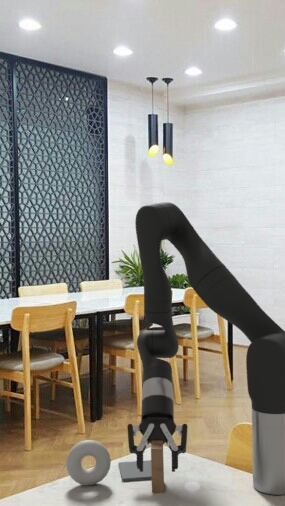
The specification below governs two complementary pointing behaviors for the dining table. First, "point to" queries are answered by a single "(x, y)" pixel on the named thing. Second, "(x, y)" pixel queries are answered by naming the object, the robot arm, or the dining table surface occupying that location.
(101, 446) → the donut
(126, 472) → the rubber mat
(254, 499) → the dining table surface
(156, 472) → the walnut slab
